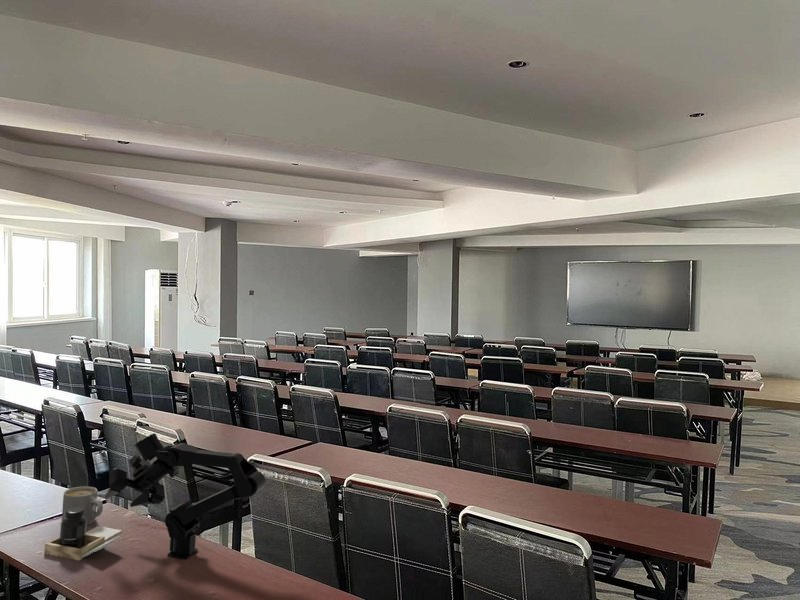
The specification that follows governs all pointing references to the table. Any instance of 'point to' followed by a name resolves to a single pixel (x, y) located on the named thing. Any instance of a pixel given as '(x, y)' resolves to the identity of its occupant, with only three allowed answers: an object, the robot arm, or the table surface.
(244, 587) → the table surface
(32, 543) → the table surface
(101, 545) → the frame lid
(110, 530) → the felt mat
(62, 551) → the frame
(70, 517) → the supplement bottle
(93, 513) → the coffee mug
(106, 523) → the table surface
